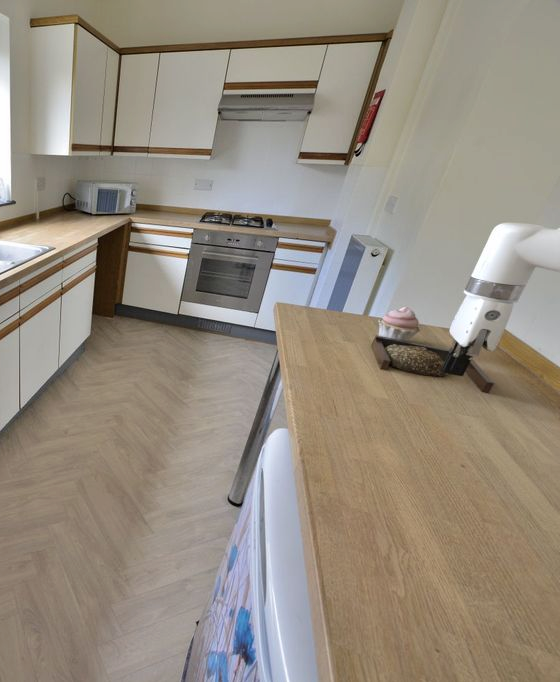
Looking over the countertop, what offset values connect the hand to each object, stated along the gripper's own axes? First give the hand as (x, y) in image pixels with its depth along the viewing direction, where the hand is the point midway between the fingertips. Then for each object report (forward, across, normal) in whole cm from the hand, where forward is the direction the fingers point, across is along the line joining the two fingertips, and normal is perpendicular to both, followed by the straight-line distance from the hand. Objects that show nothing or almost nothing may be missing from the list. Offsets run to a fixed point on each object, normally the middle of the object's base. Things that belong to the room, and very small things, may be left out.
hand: (451, 372), depth 86 cm
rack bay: (+5, +13, +1) cm, 14 cm away
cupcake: (+5, +29, +5) cm, 30 cm away
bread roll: (+5, +13, +3) cm, 14 cm away
